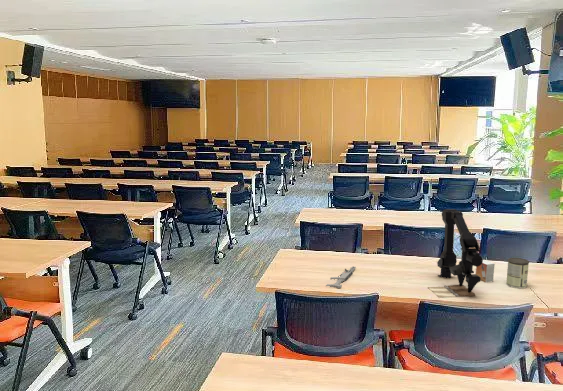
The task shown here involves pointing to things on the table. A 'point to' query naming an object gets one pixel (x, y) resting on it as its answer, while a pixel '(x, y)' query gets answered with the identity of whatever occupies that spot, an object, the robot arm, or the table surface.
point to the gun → (342, 277)
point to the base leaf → (443, 292)
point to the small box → (485, 271)
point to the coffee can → (517, 272)
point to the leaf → (460, 290)
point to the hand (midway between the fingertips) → (464, 289)
